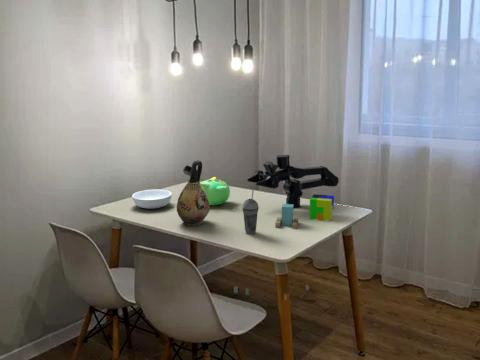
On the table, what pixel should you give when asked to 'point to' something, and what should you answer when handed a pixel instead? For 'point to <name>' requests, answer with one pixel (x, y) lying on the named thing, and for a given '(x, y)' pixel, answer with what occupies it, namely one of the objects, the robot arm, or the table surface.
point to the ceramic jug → (193, 198)
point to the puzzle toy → (321, 207)
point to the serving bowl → (152, 198)
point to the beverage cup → (250, 215)
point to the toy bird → (216, 191)
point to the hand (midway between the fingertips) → (251, 182)
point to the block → (287, 214)
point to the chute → (279, 221)
